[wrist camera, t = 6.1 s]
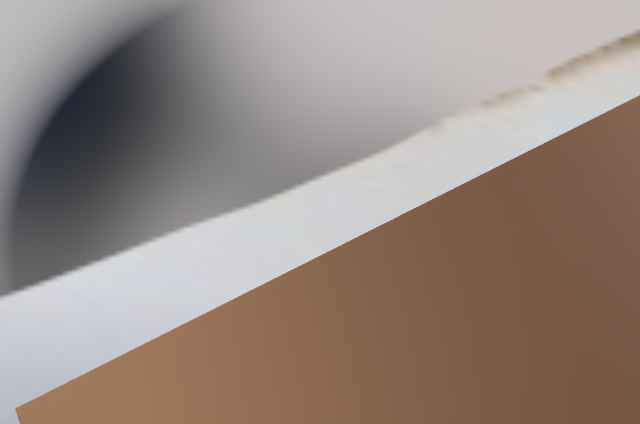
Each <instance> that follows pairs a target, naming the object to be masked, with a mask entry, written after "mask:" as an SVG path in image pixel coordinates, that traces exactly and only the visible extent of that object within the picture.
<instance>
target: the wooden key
mask: <svg viewBox="0 0 640 424" xmlns="http://www.w3.org/2000/svg"><path fill="white" fill-rule="evenodd" d="M15 410H16V412H17V415H18V418H19V421H20V424H640V96H638V97H636V98H634V99H632V100H630V101H628V102H626V103H624V104H622V105H620V106H618V107H616V108H614V109H612V110H610V111H608V112H606V113H604V114H602V115H600V116H598V117H596V118H594V119H592V120H590V121H588V122H586V123H584V124H582V125H580V126H578V127H576V128H574V129H572V130H570V131H568V132H566V133H564V134H562V135H560V136H558V137H556V138H554V139H552V140H550V141H548V142H546V143H544V144H542V145H540V146H538V147H536V148H534V149H532V150H530V151H528V152H526V153H524V154H522V155H520V156H518V157H516V158H514V159H512V160H510V161H508V162H506V163H504V164H502V165H500V166H498V167H496V168H494V169H492V170H490V171H488V172H486V173H484V174H482V175H480V176H478V177H476V178H474V179H472V180H470V181H468V182H466V183H464V184H462V185H460V186H458V187H456V188H454V189H452V190H450V191H448V192H446V193H444V194H442V195H440V196H438V197H436V198H434V199H432V200H430V201H428V202H426V203H424V204H422V205H420V206H418V207H416V208H414V209H412V210H410V211H408V212H406V213H404V214H402V215H400V216H398V217H397V218H395V219H393V220H391V221H389V222H387V223H385V224H383V225H381V226H379V227H377V228H375V229H373V230H371V231H369V232H367V233H365V234H363V235H361V236H359V237H357V238H355V239H353V240H351V241H349V242H347V243H345V244H343V245H341V246H339V247H337V248H335V249H333V250H331V251H329V252H327V253H325V254H323V255H321V256H319V257H317V258H315V259H313V260H311V261H309V262H307V263H305V264H303V265H301V266H299V267H297V268H295V269H293V270H291V271H289V272H287V273H285V274H283V275H281V276H279V277H277V278H275V279H273V280H271V281H269V282H267V283H265V284H263V285H261V286H259V287H257V288H255V289H253V290H251V291H249V292H247V293H245V294H243V295H241V296H239V297H237V298H235V299H233V300H231V301H229V302H227V303H225V304H223V305H221V306H219V307H217V308H215V309H213V310H211V311H209V312H207V313H205V314H203V315H201V316H199V317H197V318H195V319H193V320H191V321H189V322H187V323H185V324H183V325H181V326H179V327H177V328H175V329H173V330H171V331H169V332H167V333H165V334H163V335H161V336H159V337H157V338H155V339H153V340H151V341H149V342H147V343H145V344H143V345H141V346H139V347H137V348H135V349H133V350H131V351H129V352H127V353H125V354H124V355H122V356H120V357H118V358H116V359H114V360H112V361H110V362H108V363H106V364H104V365H102V366H100V367H98V368H96V369H94V370H92V371H90V372H88V373H86V374H84V375H82V376H80V377H78V378H76V379H74V380H72V381H70V382H68V383H66V384H64V385H62V386H60V387H58V388H56V389H54V390H52V391H50V392H48V393H46V394H44V395H42V396H40V397H38V398H36V399H34V400H32V401H30V402H28V403H26V404H24V405H22V406H20V407H18V408H16V409H15Z"/></svg>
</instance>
